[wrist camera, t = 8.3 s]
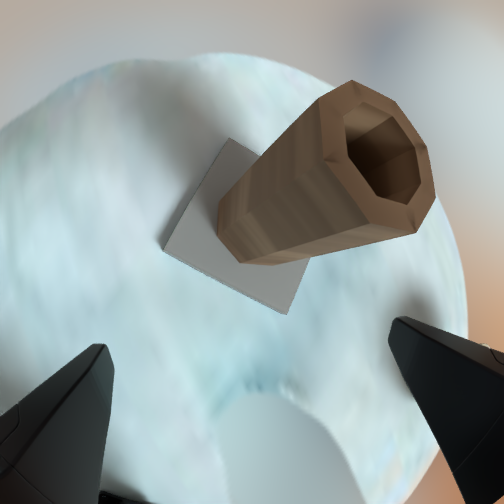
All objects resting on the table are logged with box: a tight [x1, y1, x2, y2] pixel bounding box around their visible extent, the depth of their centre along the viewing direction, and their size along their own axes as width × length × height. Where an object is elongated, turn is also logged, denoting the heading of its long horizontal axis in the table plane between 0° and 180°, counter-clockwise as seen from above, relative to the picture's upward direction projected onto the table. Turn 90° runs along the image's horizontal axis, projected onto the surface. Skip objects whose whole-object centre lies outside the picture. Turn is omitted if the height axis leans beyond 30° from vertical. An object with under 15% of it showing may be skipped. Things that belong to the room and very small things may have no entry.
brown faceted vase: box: [217, 80, 436, 266], centre depth 16 cm, size 6×6×13 cm
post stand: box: [163, 138, 310, 315], centre depth 20 cm, size 10×10×5 cm
